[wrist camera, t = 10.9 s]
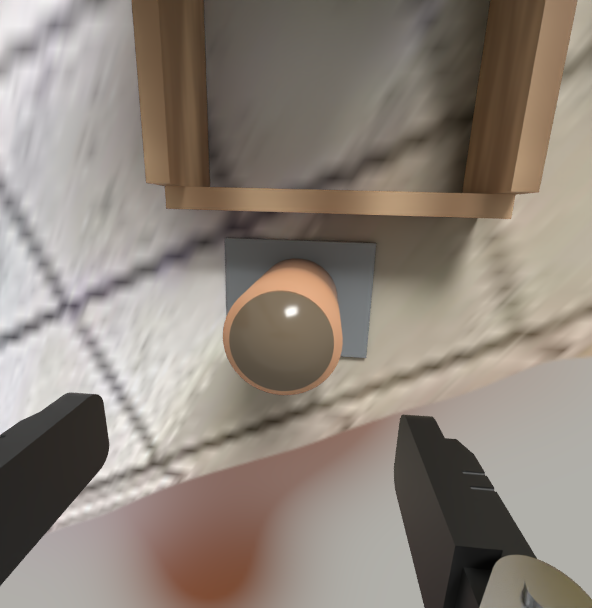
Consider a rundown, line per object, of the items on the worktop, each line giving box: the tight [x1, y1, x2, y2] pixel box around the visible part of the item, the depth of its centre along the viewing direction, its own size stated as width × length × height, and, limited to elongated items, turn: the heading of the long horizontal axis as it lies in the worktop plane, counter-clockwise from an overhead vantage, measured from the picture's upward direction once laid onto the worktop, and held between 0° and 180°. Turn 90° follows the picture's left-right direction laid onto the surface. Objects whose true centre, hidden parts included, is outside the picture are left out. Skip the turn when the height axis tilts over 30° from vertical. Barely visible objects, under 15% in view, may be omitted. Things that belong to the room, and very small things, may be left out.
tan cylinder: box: [223, 258, 343, 395], centre depth 20 cm, size 6×6×8 cm
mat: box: [225, 238, 376, 358], centre depth 24 cm, size 10×8×1 cm
